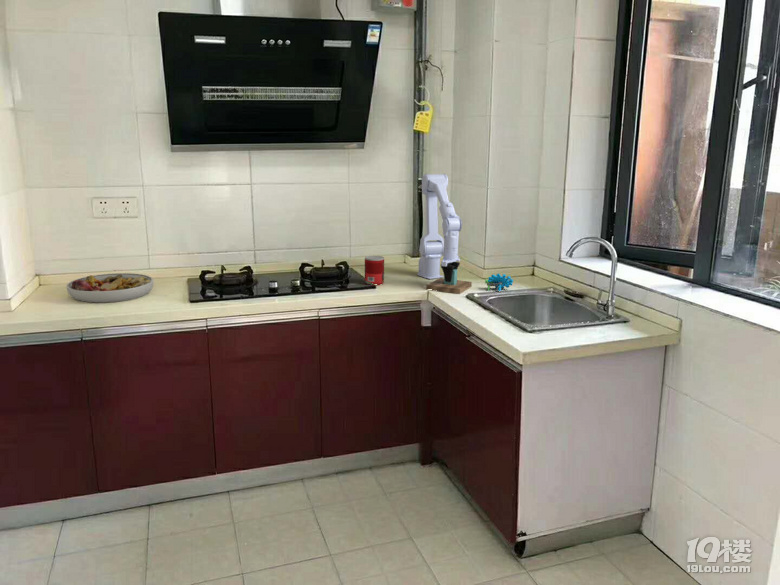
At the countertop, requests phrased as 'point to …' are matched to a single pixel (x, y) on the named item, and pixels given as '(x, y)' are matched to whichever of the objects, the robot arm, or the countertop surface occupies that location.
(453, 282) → the post
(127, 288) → the bowl
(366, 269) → the canned food
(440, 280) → the slot plate
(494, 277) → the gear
